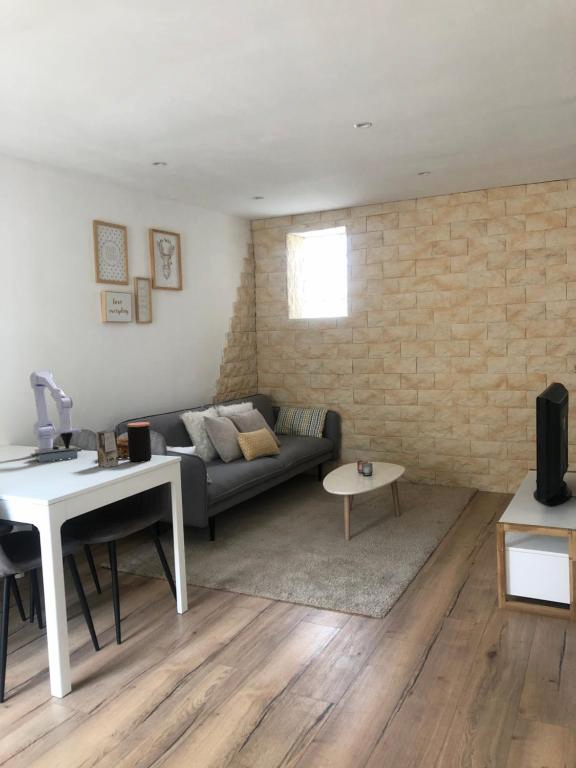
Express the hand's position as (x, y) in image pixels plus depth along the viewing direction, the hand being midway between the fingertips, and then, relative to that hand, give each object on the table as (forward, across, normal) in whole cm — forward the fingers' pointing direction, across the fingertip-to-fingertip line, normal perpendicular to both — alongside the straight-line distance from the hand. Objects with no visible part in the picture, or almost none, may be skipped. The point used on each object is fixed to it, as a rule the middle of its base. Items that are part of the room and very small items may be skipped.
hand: (67, 447), depth 321 cm
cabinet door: (+1, -5, +3) cm, 6 cm away
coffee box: (+6, +11, -37) cm, 39 cm away
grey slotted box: (+5, -5, +3) cm, 8 cm away
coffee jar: (+6, +27, -35) cm, 44 cm away
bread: (+6, +23, -19) cm, 30 cm away
